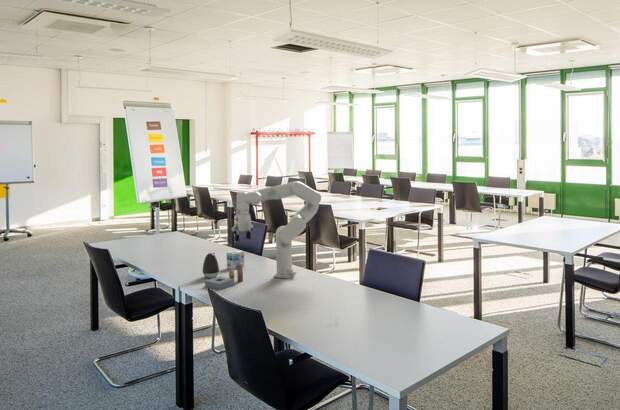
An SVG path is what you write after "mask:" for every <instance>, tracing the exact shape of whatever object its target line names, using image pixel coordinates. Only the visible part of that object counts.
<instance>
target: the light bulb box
mask: <svg viewBox="0 0 620 410" xmlns="http://www.w3.org/2000/svg"><path fill="white" fill-rule="evenodd" d="M237 263H242V265H243V268H244V267H245V251H244V250H239V249H236V250H232V251H227V252H226V268H227V269H229V270H237Z"/></svg>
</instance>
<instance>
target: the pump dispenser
mask: <svg viewBox="0 0 620 410" xmlns="http://www.w3.org/2000/svg"><path fill="white" fill-rule="evenodd" d="M218 262H219V261H218V259H217V257H216V256H215V253H214V252H213V253H212V252H211V253H207V254H206V256H205V258H204V261H203V263H202V274H203V277H205V278H207V279H212V278H216V277H218V275H219V273H220V266H219V263H218Z"/></svg>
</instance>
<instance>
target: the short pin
mask: <svg viewBox="0 0 620 410" xmlns="http://www.w3.org/2000/svg"><path fill="white" fill-rule="evenodd" d="M228 278H231V279H234V280H235V269H229V270H228Z"/></svg>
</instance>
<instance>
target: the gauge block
mask: <svg viewBox="0 0 620 410" xmlns="http://www.w3.org/2000/svg"><path fill="white" fill-rule="evenodd" d="M233 286H235V278H234V279H231V278H229V277H226V276H221V275H219V276H216V277H215V278H208V279H206V280H204V288H209V289H214V290H219V291H220V290H224V289H226V288H229V287H233Z"/></svg>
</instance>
